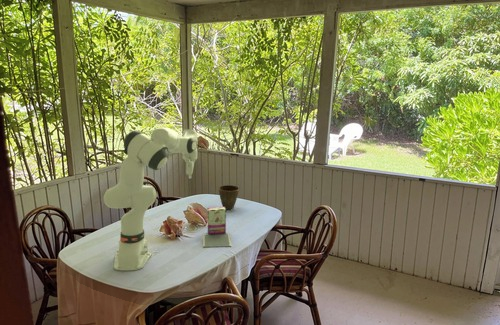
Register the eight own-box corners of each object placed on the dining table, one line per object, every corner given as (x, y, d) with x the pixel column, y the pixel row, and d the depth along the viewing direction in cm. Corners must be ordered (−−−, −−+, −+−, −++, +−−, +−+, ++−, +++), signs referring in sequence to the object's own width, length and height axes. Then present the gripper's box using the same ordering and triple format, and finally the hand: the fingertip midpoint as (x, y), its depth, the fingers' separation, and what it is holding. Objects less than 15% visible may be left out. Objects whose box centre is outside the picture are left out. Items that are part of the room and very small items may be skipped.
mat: (230, 246, 202) (230, 245, 202) (203, 247, 200) (203, 246, 200) (229, 234, 218) (229, 234, 217) (203, 235, 216) (203, 234, 215)
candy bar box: (224, 230, 224) (225, 206, 220) (225, 234, 219) (226, 209, 215) (207, 231, 221) (207, 207, 217) (207, 235, 216) (208, 210, 212)
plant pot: (230, 203, 273) (231, 184, 270) (242, 209, 262) (243, 188, 259) (214, 207, 264) (214, 187, 260) (226, 213, 253) (226, 192, 249)
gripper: (194, 159, 200) (194, 183, 203) (195, 152, 220) (195, 173, 223) (183, 159, 199) (183, 182, 202) (185, 152, 219) (185, 173, 222)
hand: (190, 178), depth 213 cm, fingers closed
